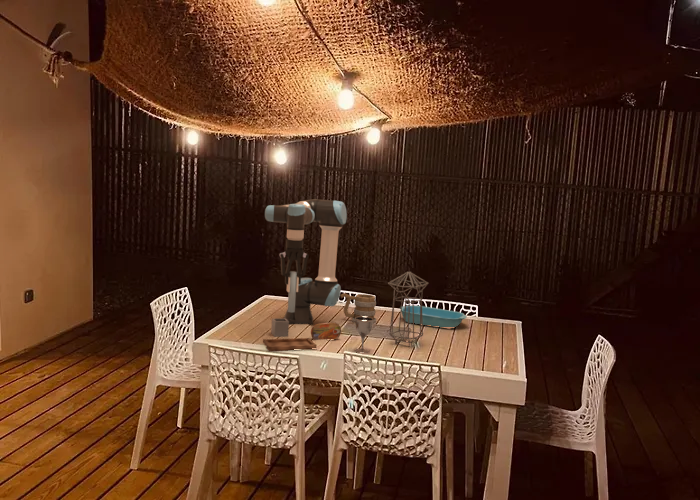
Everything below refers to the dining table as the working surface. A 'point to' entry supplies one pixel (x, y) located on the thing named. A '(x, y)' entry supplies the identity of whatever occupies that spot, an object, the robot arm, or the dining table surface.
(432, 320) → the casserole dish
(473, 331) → the dining table surface
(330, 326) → the tin
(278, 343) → the tray
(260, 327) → the dining table surface
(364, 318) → the wine glass
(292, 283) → the dowel
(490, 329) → the dining table surface
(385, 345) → the dining table surface
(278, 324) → the cup
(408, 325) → the geometric lantern
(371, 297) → the tankard
